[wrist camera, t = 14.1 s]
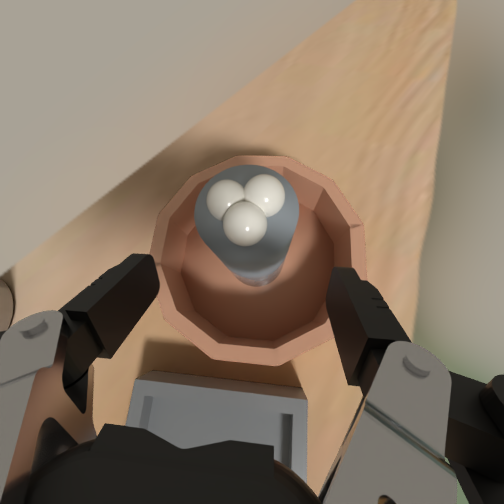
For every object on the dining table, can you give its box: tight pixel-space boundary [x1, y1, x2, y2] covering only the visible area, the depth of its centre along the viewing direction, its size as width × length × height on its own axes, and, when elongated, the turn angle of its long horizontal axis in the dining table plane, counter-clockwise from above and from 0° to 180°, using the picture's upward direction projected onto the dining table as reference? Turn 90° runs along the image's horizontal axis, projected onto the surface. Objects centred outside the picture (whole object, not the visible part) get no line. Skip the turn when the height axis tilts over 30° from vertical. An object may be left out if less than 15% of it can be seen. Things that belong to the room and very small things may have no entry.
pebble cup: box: [194, 165, 299, 287], centre depth 14 cm, size 5×5×11 cm
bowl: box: [149, 155, 367, 366], centre depth 18 cm, size 16×16×5 cm
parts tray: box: [126, 370, 308, 484], centre depth 15 cm, size 13×13×2 cm
